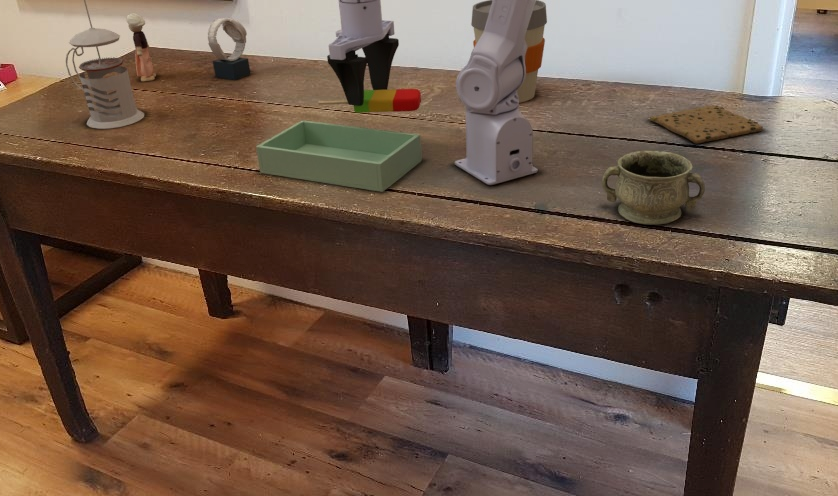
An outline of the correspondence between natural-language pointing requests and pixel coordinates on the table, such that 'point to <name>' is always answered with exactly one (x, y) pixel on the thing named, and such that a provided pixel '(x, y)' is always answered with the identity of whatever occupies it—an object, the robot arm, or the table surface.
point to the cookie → (706, 123)
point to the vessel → (652, 186)
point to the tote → (340, 155)
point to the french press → (104, 82)
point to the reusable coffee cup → (531, 38)
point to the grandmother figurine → (141, 48)
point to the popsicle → (385, 101)
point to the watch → (233, 64)
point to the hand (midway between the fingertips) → (368, 97)
